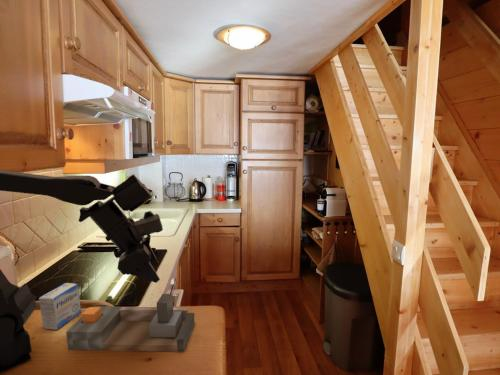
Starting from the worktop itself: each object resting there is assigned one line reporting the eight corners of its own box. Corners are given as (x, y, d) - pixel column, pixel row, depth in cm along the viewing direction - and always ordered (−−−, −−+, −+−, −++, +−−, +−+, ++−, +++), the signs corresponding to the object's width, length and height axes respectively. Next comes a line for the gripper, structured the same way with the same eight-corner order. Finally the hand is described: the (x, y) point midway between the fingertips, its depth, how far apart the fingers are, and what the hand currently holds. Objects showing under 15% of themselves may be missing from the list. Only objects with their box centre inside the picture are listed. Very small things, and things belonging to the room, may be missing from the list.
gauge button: (83, 327, 67) (81, 314, 66) (90, 320, 70) (89, 307, 69) (95, 327, 67) (93, 314, 66) (102, 320, 70) (100, 307, 69)
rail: (68, 349, 64) (66, 331, 63) (94, 322, 74) (92, 306, 73) (184, 351, 63) (183, 333, 62) (194, 323, 73) (193, 307, 72)
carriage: (149, 337, 65) (147, 305, 64) (158, 322, 71) (156, 292, 69) (175, 337, 65) (173, 305, 64) (182, 322, 70) (180, 292, 69)
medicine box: (57, 331, 71) (53, 298, 69) (42, 329, 72) (38, 297, 70) (81, 312, 78) (78, 283, 77) (68, 311, 79) (64, 282, 78)
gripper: (144, 211, 57) (190, 266, 61) (146, 196, 74) (181, 240, 79) (94, 246, 55) (146, 300, 59) (108, 221, 72) (147, 265, 77)
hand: (157, 272), depth 69 cm, fingers open, 9 cm apart
